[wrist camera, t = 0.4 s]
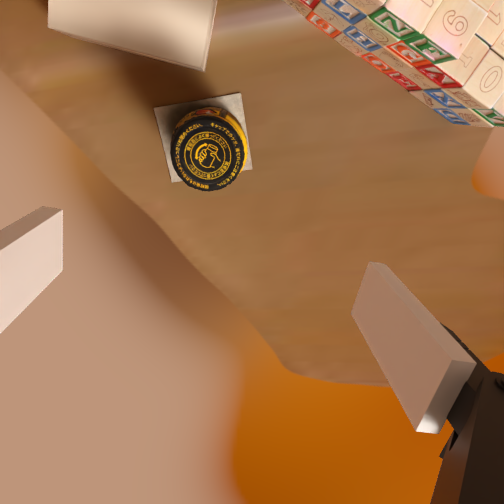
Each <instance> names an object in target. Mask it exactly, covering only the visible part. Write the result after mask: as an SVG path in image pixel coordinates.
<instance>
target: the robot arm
mask: <svg viewBox="0 0 504 504" xmlns="http://www.w3.org/2000/svg"><path fill="white" fill-rule="evenodd" d="M62 270H63V210H62V209H57V208H51V207H45V206H42V207H40V208H39V209H37V210H35V211H33V212H32V213H30V214H28V215H26V216H25V217H23V218H21V219H19V220H18V221H16V222H14V223H13V224H11V225H9V226H7V227H5V228H4V229H2V230H0V333H1V332H2V331H3V330H4V329H5V328H6V327H7V326H8V325H9V324H10V323H11V322H12V321H13V320H14V319H15V318H16V317H17V316H18V315H19V314H20V313H21V312H22V311H23V310H24V309H25V308H26V307H27V306H28V305H29V304H30V303H31V302H32V301H33V300H34V299H35V298H36V297H37V296H38V295H39V294H40V293H41V292H42V290H44V289H45V288H46V287H47V286H48V285H49V284H50V283H51V282H52V281H53V280H54V278H56V277H57V275H58V274H60V273H61V271H62ZM351 315H352V316H353V318H354V320H355V322H356V324H357V325H358V327H359V329H360V331H361V333H362V335H363V336H364V338H365V340H366V342H367V344H368V345H369V347H370V349H371V351H372V353H373V354H374V356H375V358H376V360H377V362H378V364H379V365H380V367H381V369H382V371H383V373H384V374H385V376H386V378H387V380H388V382H389V384H390V385H391V387H392V389H393V391H394V392H395V394H396V396H397V398H398V400H399V401H400V403H401V405H402V407H403V409H404V411H405V412H406V414H407V416H408V418H409V420H410V421H411V423H412V425H413V427H414V429H415V431H418V432H427V433H436V434H439V432H440V431H441V429H442V427H443V425H444V423H445V421H446V419H448V421H449V422H450V424H451V425H452V427H453V428H454V431H453V432H452V434H451V436H450V438H449V440H448V441H447V443H446V445H445V447H444V448H443V450H442V452H441V454H440V457H441V458H442V459H443V461H442V465H441V468H440V471H439V475H438V478H437V482H436V486H435V489H434V492H433V496H432V499H431V503H430V504H504V374H502V373H497V372H490V370H489V369H488V368H487V367H486V366H485V365H484V364H483V363H482V362H481V361H480V360H479V359H478V358H477V357H476V356H475V355H474V353H473V352H472V351H471V350H468V349H469V348H468V347H467V346H466V345H465V344H464V343H463V342H461V340H460V339H459V338H458V337H457V335H456V334H455V333H454V332H453V331H451V330H450V329H448V328H447V327H446V326H444V325H443V324H441V323H439V322H438V321H437V320H436V318H435V317H434V316H433V315H432V314H431V313H430V312H429V311H428V310H427V309H426V308H425V307H424V305H423V304H422V303H421V302H420V301H419V300H418V299H417V298H416V297H415V296H414V295H413V294H412V292H411V291H410V290H409V289H408V288H407V287H406V286H405V285H404V284H403V283H402V282H401V281H400V279H399V278H398V277H397V276H396V275H395V274H394V273H393V272H392V271H391V270H390V269H389V268H388V266H387V265H386V264H382V263H376V262H370V261H369V263H368V266H367V269H366V272H365V275H364V278H363V280H362V283H361V286H360V289H359V292H358V295H357V297H356V300H355V303H354V306H353V309H352V311H351Z"/></svg>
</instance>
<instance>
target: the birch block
mask: <svg viewBox="0 0 504 504" xmlns="http://www.w3.org/2000/svg"><path fill="white" fill-rule="evenodd" d="M216 5H217V0H48V28H51V29H53V30H55V31H58V32H60V33H63V34H65V35H67V36H70V37H72V38H76V39H80V40H84V41H87V42H91V43H95V44H99V45H103V46H106V47H110V48H114V49H118V50H122V51H125V52H129V53H133V54H137V55H141V56H144V57H148V58H152V59H156V60H160V61H163V62H167V63H171V64H175V65H179V66H182V67H186V68H190V69H194V70H198V71H201V72H205V70H206V64H207V58H208V52H209V46H210V40H211V34H212V28H213V22H214V17H215V11H216Z"/></svg>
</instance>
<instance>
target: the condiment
mask: <svg viewBox="0 0 504 504" xmlns="http://www.w3.org/2000/svg"><path fill="white" fill-rule="evenodd" d="M154 112H155V116H156V119H157V123H158V127H159V131H160V135H161V139H162V143H163V147H164V151H165V155H166V160H167V164H168V168H169V172H170V176H171V180H172V182H179V181H184V182H185V183H186V184H187V185H188V186H189V187H193V188H194V189H198V190H202V191H214V190H219V189H222V188H224V187H226V186H227V185H228V184H231V183H232V181H234V180H235V179H236V177H237V176H238V175H239V174H240V172H241V171H242V170H249V169H252V163H251V156H250V150H249V143H248V137H247V131H246V124H245V118H244V111H243V105H242V98H241V93H238V94H232V95H226V96H221V97H215V98H209V99H203V100H197V101H191V102H186V103H179V104H173V105H168V106H162V107H156V108H154Z"/></svg>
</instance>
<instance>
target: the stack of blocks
mask: <svg viewBox="0 0 504 504" xmlns="http://www.w3.org/2000/svg"><path fill="white" fill-rule="evenodd" d="M283 1H284V2H285V3H287V4H288V5H289V6H291V7H292V8H293V9H295V10H296V11H298V12H299V13H300V14H302V15H303V16H304V17H306V19H307V20H308V21H309V22H311V23H312V24H314V25H315V26H316V27H318V28H319V29H321V30H322V31H323V32H325V33H326V34H327V35H329V36H330V37H332V38H333V39H334V40H336V41H337V42H338V43H340V44H341V45H342V46H344V47H345V48H346V49H348V50H349V51H351V52H352V53H354V54H355V55H356V56H358V57H359V56H360V57H362V58H363V59H364V60H366V61H367V62H369V63H370V64H371V65H373V66H374V67H375V68H377V69H378V70H380V71H381V72H382V73H385V74H386V75H388V76H389V77H390V78H392V79H393V80H394V81H396V82H397V83H399V84H400V85H401V86H403V87H404V88H406V89H407V90H409V93H410V94H412V95H413V96H415V97H416V98H417V99H419V100H420V101H421V102H423V103H424V104H426V105H427V106H428V107H430V108H432V109H433V110H435V111H436V112H437V113H439V114H440V115H442V116H443V117H444V118H446V119H447V120H449V121H450V122H451V123H453V124H462V125H472V126H481V127H494V126H499V127H504V0H283Z"/></svg>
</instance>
